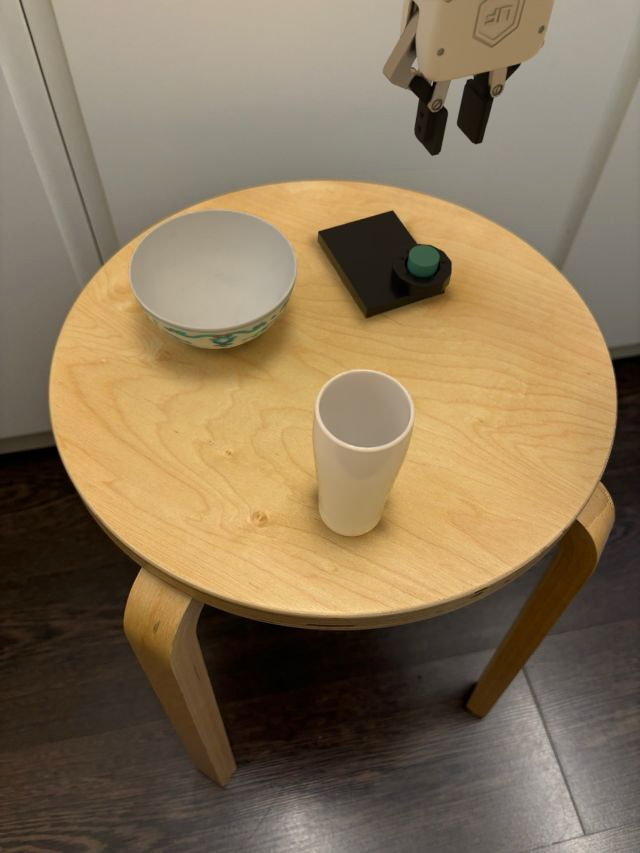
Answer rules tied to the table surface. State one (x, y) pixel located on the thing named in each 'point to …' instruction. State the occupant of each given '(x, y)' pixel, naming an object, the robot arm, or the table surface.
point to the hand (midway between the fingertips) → (448, 138)
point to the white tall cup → (359, 446)
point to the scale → (381, 263)
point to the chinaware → (213, 276)
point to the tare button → (423, 261)
